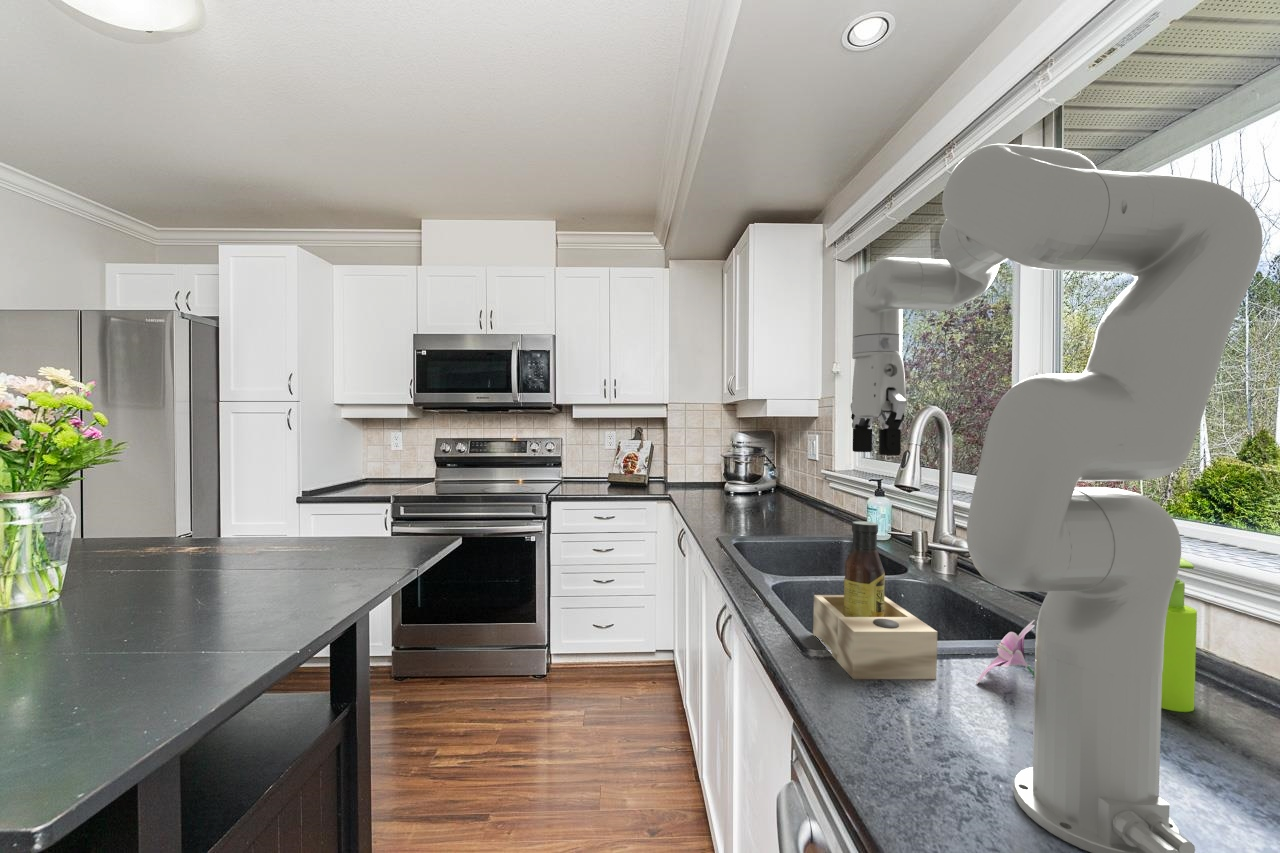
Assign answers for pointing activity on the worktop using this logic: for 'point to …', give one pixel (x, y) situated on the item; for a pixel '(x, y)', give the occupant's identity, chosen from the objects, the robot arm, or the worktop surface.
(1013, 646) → the lily
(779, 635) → the worktop surface
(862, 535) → the sauce bottle
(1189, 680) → the soap dispenser
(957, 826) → the worktop surface
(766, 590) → the worktop surface
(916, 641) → the caddy
